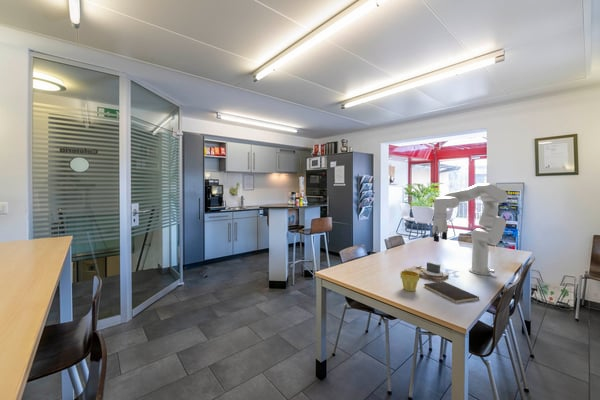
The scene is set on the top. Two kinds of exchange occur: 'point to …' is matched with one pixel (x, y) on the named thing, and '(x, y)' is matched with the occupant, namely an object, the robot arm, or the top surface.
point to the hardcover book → (451, 292)
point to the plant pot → (409, 280)
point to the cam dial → (433, 270)
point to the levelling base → (421, 274)
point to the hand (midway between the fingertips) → (440, 240)
